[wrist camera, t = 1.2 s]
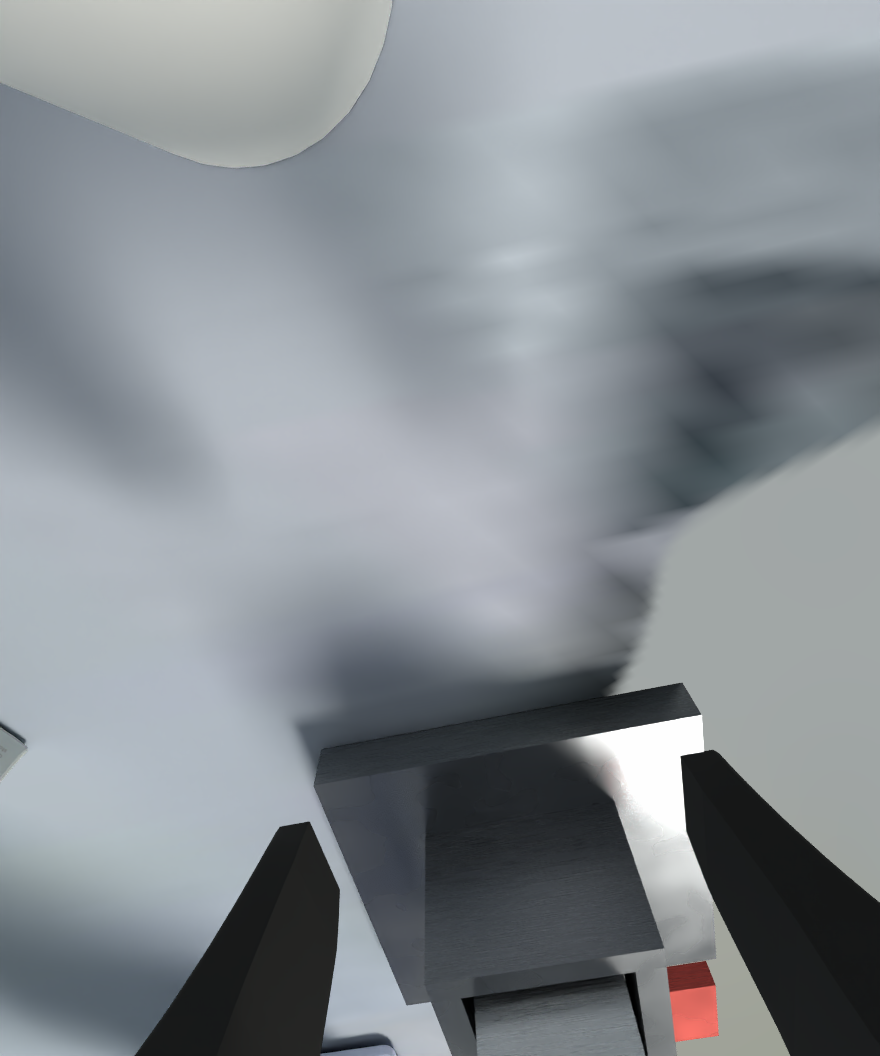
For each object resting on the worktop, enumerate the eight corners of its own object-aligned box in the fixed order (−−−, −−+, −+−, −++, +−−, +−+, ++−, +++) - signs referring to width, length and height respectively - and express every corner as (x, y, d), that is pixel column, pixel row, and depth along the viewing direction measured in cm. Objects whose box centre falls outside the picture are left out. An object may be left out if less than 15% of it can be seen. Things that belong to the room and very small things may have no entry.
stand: (699, 918, 24) (779, 1113, 19) (407, 964, 25) (402, 1162, 19) (682, 682, 19) (782, 851, 14) (321, 750, 20) (281, 933, 15)
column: (602, 912, 21) (699, 1279, 14) (485, 930, 22) (516, 1299, 14) (587, 830, 20) (689, 1197, 12) (461, 851, 20) (482, 1222, 12)
